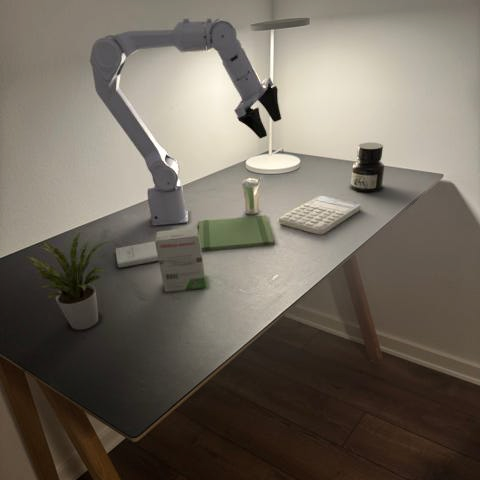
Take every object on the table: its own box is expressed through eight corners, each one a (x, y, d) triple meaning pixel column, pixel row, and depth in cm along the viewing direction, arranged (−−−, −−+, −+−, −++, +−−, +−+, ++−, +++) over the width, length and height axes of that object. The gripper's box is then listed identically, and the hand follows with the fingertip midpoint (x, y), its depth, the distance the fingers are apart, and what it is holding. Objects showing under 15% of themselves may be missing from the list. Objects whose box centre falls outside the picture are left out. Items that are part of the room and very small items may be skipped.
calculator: (277, 224, 116) (277, 217, 114) (319, 199, 127) (320, 193, 126) (321, 236, 108) (321, 229, 107) (362, 209, 120) (362, 202, 119)
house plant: (116, 290, 93) (97, 216, 84) (137, 323, 83) (117, 243, 73) (46, 312, 88) (17, 236, 78) (58, 350, 78) (27, 268, 68)
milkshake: (256, 217, 120) (255, 180, 114) (240, 213, 123) (238, 177, 117) (266, 211, 123) (265, 175, 117) (250, 207, 125) (248, 172, 120)
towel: (199, 251, 106) (198, 247, 105) (199, 223, 119) (198, 220, 118) (274, 244, 106) (274, 241, 106) (266, 218, 119) (266, 214, 119)
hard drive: (173, 259, 103) (118, 269, 101) (167, 244, 110) (116, 253, 107) (171, 252, 102) (117, 262, 100) (166, 238, 109) (115, 247, 106)
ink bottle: (343, 188, 134) (346, 146, 127) (361, 180, 138) (365, 139, 131) (371, 195, 128) (376, 152, 121) (388, 186, 132) (394, 144, 125)
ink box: (205, 276, 96) (199, 225, 89) (206, 289, 92) (199, 236, 85) (164, 281, 95) (155, 229, 88) (164, 293, 91) (154, 240, 84)
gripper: (239, 84, 97) (269, 140, 104) (270, 54, 104) (296, 108, 111) (217, 95, 102) (247, 147, 109) (248, 65, 109) (275, 116, 116)
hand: (270, 128), depth 110 cm, fingers open, 7 cm apart
